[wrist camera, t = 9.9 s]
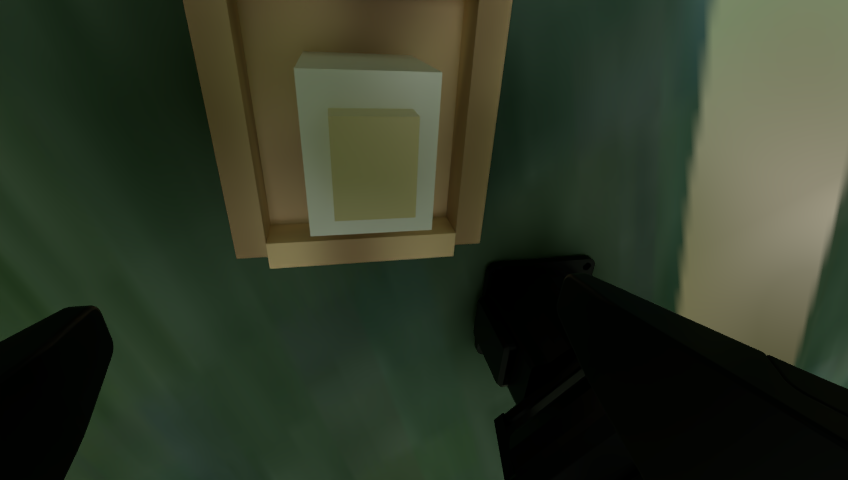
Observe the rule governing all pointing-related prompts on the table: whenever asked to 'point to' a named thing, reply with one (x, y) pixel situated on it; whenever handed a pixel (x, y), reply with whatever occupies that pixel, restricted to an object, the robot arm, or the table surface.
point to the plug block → (368, 141)
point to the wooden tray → (279, 122)
